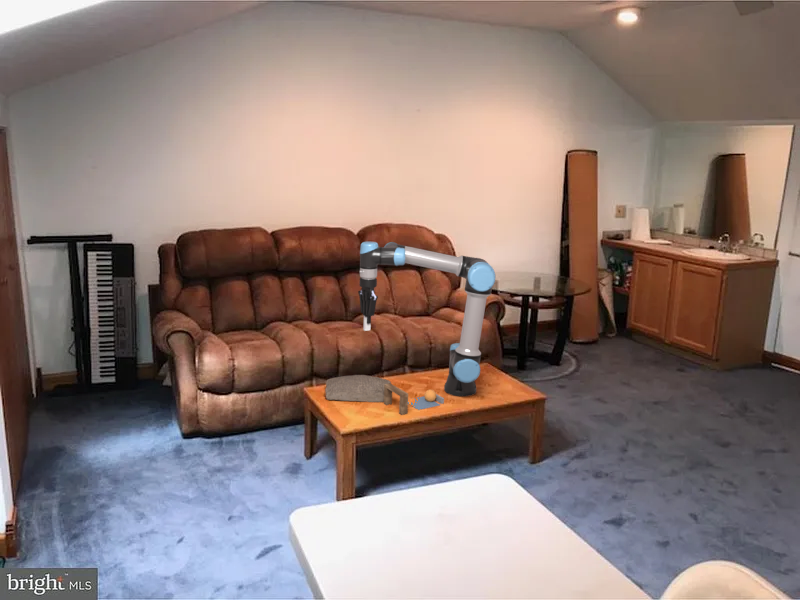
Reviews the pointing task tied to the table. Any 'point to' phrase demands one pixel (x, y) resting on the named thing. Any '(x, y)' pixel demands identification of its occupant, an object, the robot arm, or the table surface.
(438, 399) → the wall
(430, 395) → the ball
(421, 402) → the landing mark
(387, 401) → the bridge
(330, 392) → the stone tablet
